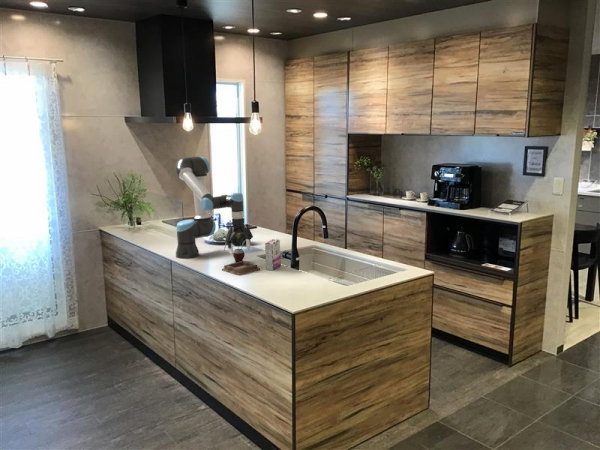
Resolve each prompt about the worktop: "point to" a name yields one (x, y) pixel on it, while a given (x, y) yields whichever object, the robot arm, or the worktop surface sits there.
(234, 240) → the squash
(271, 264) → the candy bar box
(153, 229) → the worktop surface
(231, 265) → the holder board
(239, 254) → the mate gourd
